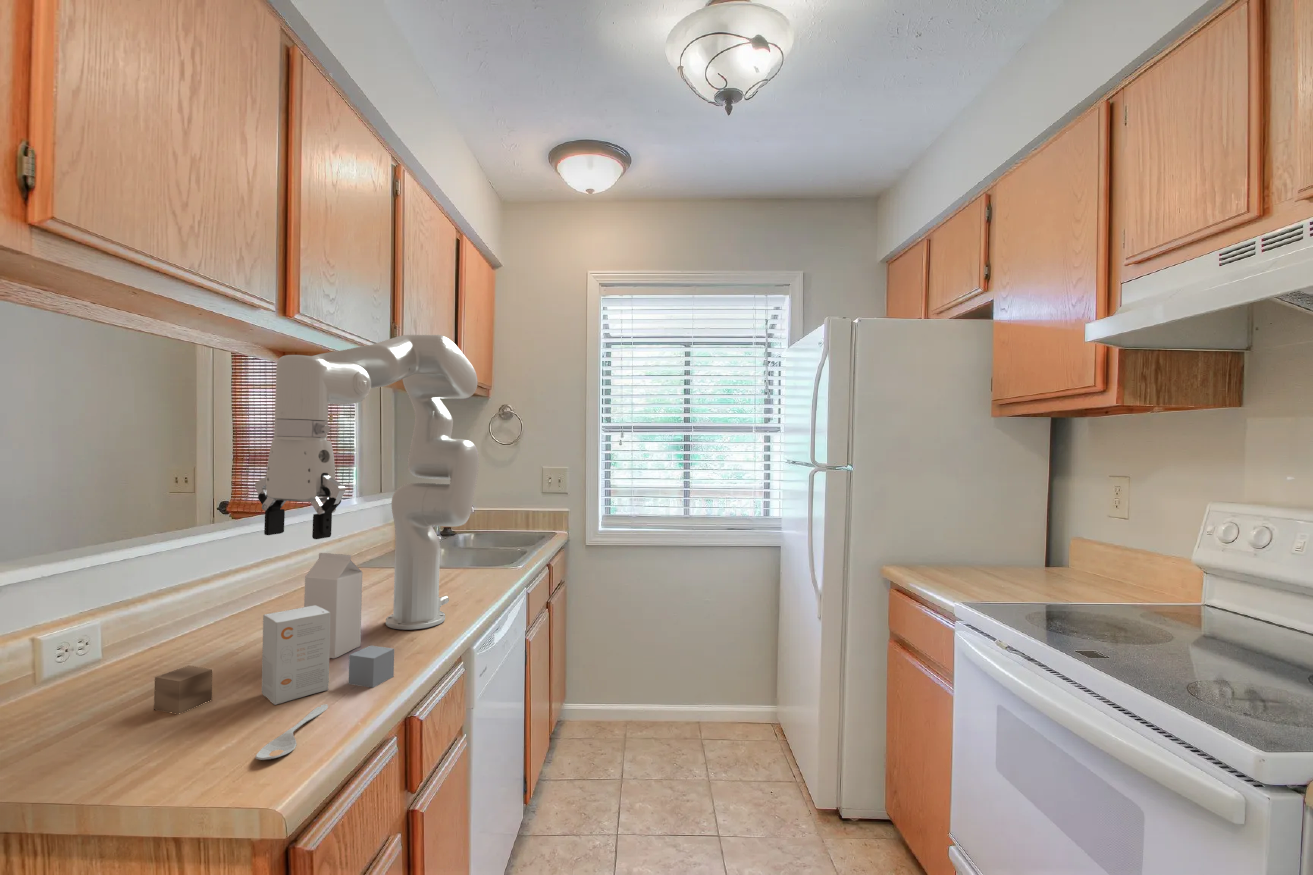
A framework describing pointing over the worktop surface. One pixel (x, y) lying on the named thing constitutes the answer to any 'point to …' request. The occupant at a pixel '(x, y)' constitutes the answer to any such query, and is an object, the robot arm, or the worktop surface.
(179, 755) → the worktop surface
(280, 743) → the spoon
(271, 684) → the small box
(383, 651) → the slate block
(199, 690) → the walnut block
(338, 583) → the milk carton
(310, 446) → the robot arm
